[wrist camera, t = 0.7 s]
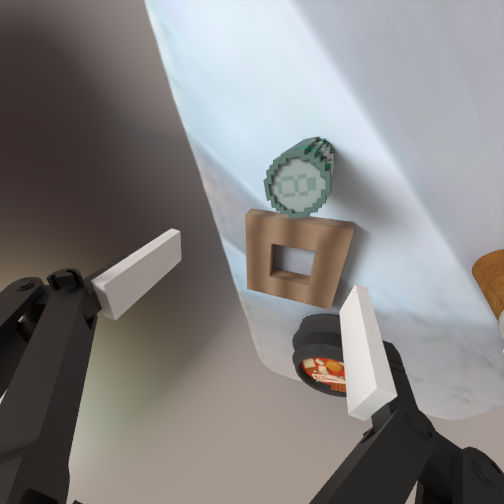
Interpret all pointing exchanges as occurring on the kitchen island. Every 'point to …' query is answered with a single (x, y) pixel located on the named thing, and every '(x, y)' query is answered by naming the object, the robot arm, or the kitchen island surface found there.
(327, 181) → the can
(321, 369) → the casserole
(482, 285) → the disposable coffee cup
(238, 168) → the kitchen island surface
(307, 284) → the frame
